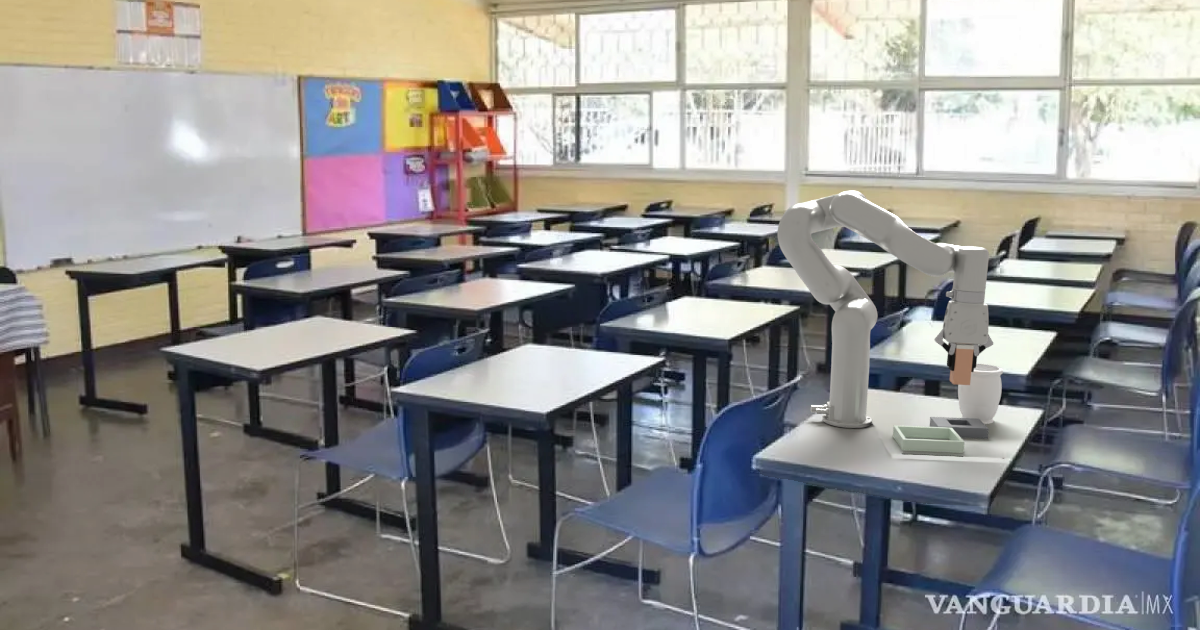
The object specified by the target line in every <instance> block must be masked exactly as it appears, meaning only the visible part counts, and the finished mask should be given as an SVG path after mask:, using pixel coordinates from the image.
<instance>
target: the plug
mask: <svg viewBox="0 0 1200 630" xmlns="http://www.w3.org/2000/svg"><path fill="white" fill-rule="evenodd" d="M973 350H974V345H972V344H957V345H956V348H955V351H954V352H955V354H954V355H955V356H956V357H955V367H954V371H951V370H950V369H949V371H950V372H949V382H951V384H952V385H957V386H958V385H970V380H971V370H972V360H973Z"/></svg>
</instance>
